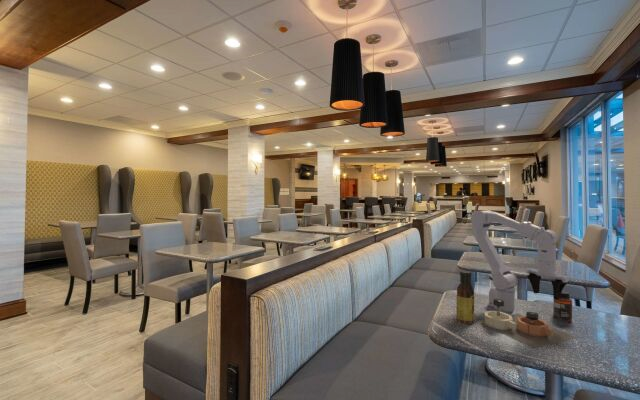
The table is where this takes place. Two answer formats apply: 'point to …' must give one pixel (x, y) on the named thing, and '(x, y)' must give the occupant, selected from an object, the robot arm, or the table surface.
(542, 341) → the slate board
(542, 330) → the terracotta pot
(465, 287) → the sauce bottle
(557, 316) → the supplement bottle
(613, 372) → the table surface
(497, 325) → the cream pot
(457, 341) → the table surface
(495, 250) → the robot arm
